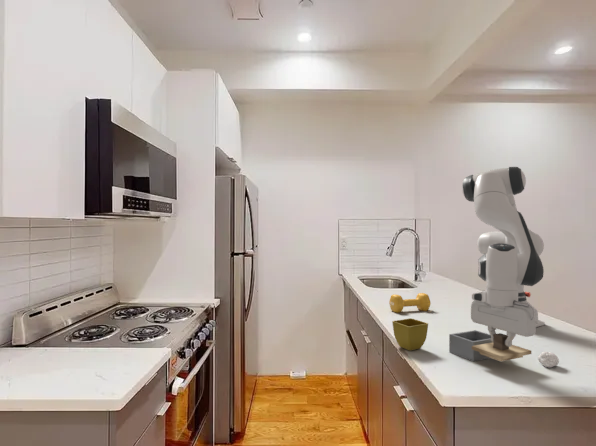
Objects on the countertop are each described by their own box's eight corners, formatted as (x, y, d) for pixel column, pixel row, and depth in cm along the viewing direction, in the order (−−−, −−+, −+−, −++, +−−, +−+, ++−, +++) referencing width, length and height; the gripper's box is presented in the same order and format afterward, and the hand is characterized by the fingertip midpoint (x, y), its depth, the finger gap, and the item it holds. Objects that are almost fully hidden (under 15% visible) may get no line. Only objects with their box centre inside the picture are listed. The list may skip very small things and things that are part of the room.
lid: (500, 348, 134) (500, 328, 134) (531, 358, 124) (531, 337, 124) (471, 353, 129) (471, 332, 129) (501, 364, 119) (501, 342, 119)
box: (475, 347, 145) (475, 330, 145) (500, 356, 136) (500, 337, 136) (449, 352, 140) (449, 334, 140) (473, 361, 131) (473, 342, 131)
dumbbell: (422, 308, 210) (422, 291, 210) (432, 312, 201) (432, 295, 201) (387, 310, 205) (387, 293, 205) (396, 314, 196) (396, 296, 196)
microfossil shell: (549, 354, 124) (562, 353, 126) (533, 349, 129) (545, 348, 131) (549, 369, 124) (561, 368, 126) (533, 364, 129) (545, 363, 131)
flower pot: (409, 353, 139) (409, 326, 139) (391, 346, 146) (391, 320, 146) (428, 349, 143) (428, 323, 143) (410, 343, 151) (410, 318, 150)
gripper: (541, 303, 118) (540, 352, 118) (481, 292, 137) (481, 334, 137) (526, 305, 116) (525, 355, 116) (467, 293, 134) (467, 336, 134)
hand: (501, 344), depth 127 cm, fingers closed on lid, 3 cm apart
